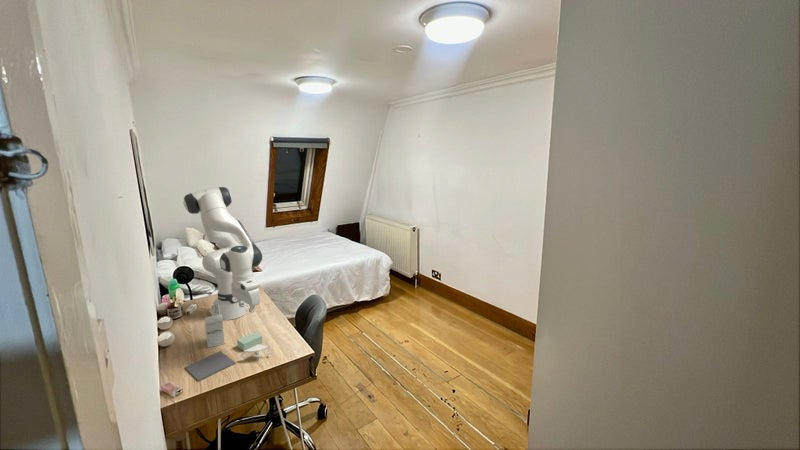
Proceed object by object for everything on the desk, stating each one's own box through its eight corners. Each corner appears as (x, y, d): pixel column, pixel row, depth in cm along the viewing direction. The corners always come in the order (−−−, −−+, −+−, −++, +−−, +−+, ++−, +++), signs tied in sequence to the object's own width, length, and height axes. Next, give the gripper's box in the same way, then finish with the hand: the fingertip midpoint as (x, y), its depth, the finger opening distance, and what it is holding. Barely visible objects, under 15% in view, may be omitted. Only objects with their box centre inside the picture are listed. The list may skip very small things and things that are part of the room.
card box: (237, 347, 160) (237, 339, 159) (255, 339, 167) (255, 331, 166) (244, 351, 156) (243, 344, 155) (262, 343, 163) (261, 335, 162)
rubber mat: (184, 368, 144) (184, 366, 144) (220, 352, 156) (220, 350, 155) (198, 381, 136) (198, 380, 135) (235, 363, 147) (235, 362, 147)
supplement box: (207, 348, 159) (204, 323, 156) (207, 340, 165) (204, 316, 162) (225, 344, 162) (222, 320, 159) (224, 336, 168) (222, 313, 166)
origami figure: (267, 349, 158) (266, 339, 157) (272, 357, 152) (271, 347, 150) (239, 358, 151) (238, 348, 150) (243, 367, 145) (242, 357, 144)
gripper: (225, 278, 159) (229, 306, 162) (247, 288, 146) (251, 318, 149) (239, 274, 164) (242, 301, 166) (261, 284, 151) (264, 312, 154)
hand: (246, 309), depth 157 cm, fingers open, 8 cm apart
